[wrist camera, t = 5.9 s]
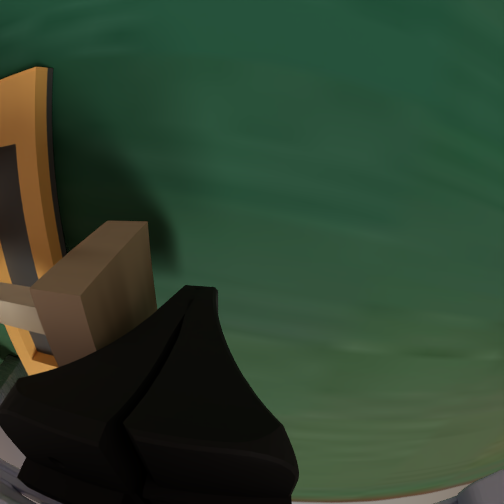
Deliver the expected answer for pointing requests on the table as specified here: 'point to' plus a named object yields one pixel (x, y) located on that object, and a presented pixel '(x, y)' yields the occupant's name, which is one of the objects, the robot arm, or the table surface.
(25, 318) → the sled
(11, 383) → the tunnel
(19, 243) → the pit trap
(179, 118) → the table surface
